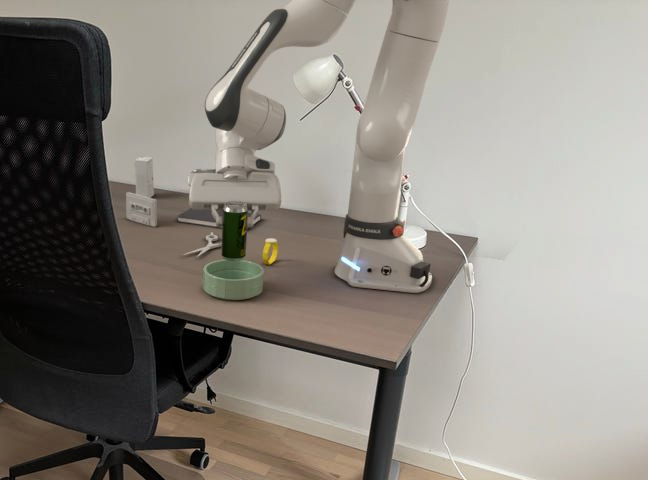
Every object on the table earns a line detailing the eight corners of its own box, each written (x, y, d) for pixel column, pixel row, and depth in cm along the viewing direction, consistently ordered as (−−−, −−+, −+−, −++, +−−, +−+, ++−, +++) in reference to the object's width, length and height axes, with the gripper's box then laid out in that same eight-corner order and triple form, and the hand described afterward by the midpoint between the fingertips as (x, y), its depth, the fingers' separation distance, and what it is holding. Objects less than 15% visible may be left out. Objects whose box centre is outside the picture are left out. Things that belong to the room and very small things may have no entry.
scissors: (245, 239, 197) (206, 259, 182) (245, 241, 198) (206, 262, 183) (211, 232, 202) (170, 251, 187) (211, 234, 203) (170, 254, 188)
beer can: (219, 261, 161) (221, 207, 156) (222, 253, 166) (224, 200, 161) (244, 262, 161) (247, 208, 155) (246, 254, 166) (249, 201, 160)
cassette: (158, 226, 210) (158, 199, 206) (153, 227, 209) (153, 200, 205) (129, 217, 217) (129, 191, 213) (125, 218, 216) (124, 192, 212)
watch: (270, 258, 186) (271, 235, 184) (280, 260, 185) (281, 237, 182) (259, 265, 182) (260, 242, 179) (269, 267, 180) (271, 244, 178)
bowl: (271, 285, 170) (272, 265, 167) (249, 306, 159) (250, 284, 157) (217, 276, 175) (218, 255, 173) (193, 295, 164) (193, 273, 162)
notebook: (260, 219, 216) (194, 210, 224) (261, 214, 215) (194, 205, 223) (245, 231, 206) (176, 221, 214) (245, 226, 205) (176, 216, 213)
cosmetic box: (148, 199, 235) (147, 161, 229) (135, 198, 236) (134, 160, 230) (154, 194, 240) (153, 157, 234) (141, 193, 241) (140, 156, 235)
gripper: (188, 161, 162) (186, 217, 158) (281, 163, 162) (282, 219, 158) (188, 176, 168) (187, 231, 164) (278, 178, 168) (279, 233, 164)
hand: (234, 225), depth 161 cm, fingers closed on beer can, 5 cm apart
